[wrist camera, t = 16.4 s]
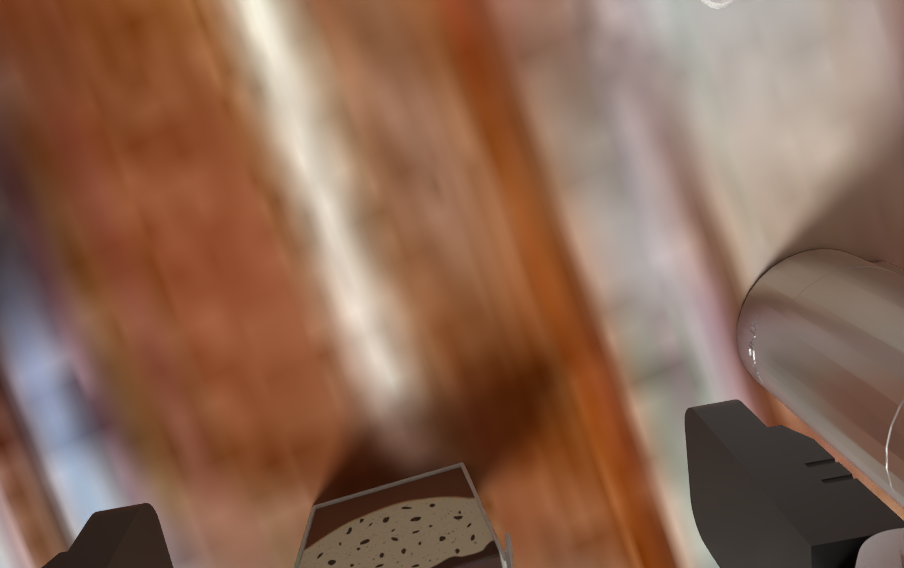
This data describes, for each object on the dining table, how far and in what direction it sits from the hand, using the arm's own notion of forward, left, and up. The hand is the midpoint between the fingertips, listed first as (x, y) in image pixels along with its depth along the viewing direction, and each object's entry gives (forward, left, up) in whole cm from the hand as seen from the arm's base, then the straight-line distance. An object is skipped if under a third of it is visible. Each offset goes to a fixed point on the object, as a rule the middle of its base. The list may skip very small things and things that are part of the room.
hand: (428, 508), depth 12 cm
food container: (+3, +21, -32) cm, 38 cm away
